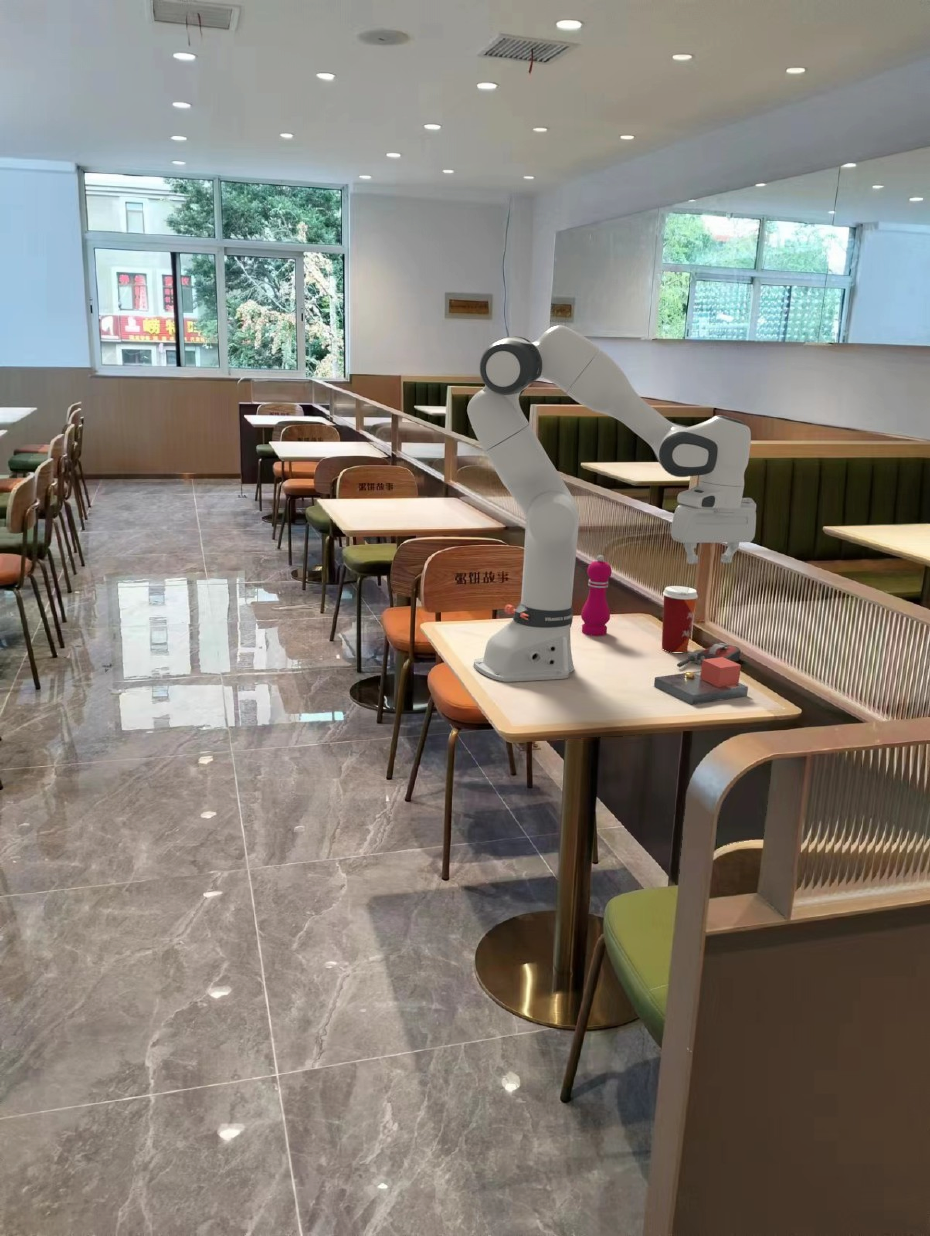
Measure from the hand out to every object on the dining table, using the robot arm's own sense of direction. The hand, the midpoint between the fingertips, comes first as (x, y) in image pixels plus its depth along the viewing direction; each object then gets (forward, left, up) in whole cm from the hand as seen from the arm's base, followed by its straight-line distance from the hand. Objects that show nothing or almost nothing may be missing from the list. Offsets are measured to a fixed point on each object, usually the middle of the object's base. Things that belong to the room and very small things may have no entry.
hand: (708, 563), depth 200 cm
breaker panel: (-2, -4, -27) cm, 27 cm away
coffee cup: (+13, +22, -27) cm, 37 cm away
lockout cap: (+2, -5, -25) cm, 25 cm away
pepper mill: (+3, +41, -27) cm, 49 cm away
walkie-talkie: (+13, +10, -27) cm, 32 cm away
